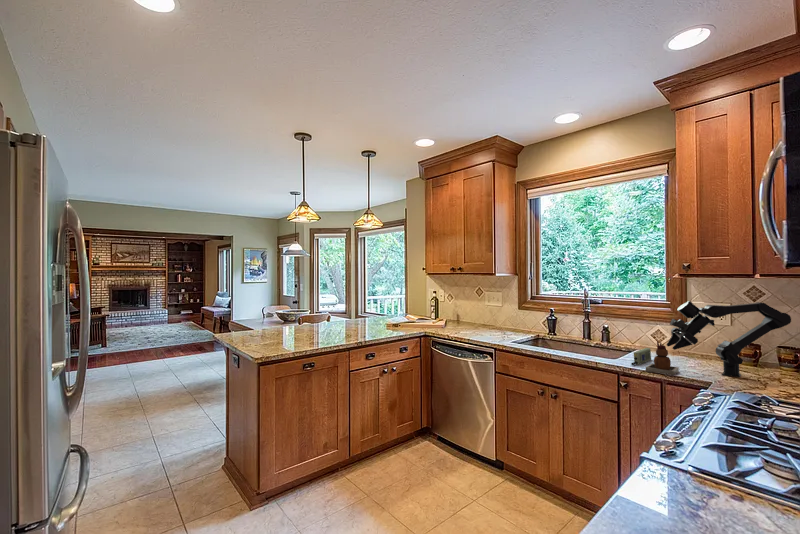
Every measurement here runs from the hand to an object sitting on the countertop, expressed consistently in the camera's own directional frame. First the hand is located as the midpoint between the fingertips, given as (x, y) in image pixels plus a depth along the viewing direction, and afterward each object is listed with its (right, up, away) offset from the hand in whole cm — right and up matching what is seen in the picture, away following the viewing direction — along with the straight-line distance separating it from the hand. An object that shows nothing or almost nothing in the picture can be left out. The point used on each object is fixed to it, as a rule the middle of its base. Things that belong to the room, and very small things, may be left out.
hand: (670, 347), depth 189 cm
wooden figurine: (-3, -12, +1) cm, 13 cm away
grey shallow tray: (-3, -12, +1) cm, 13 cm away
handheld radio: (-1, -13, +21) cm, 25 cm away
